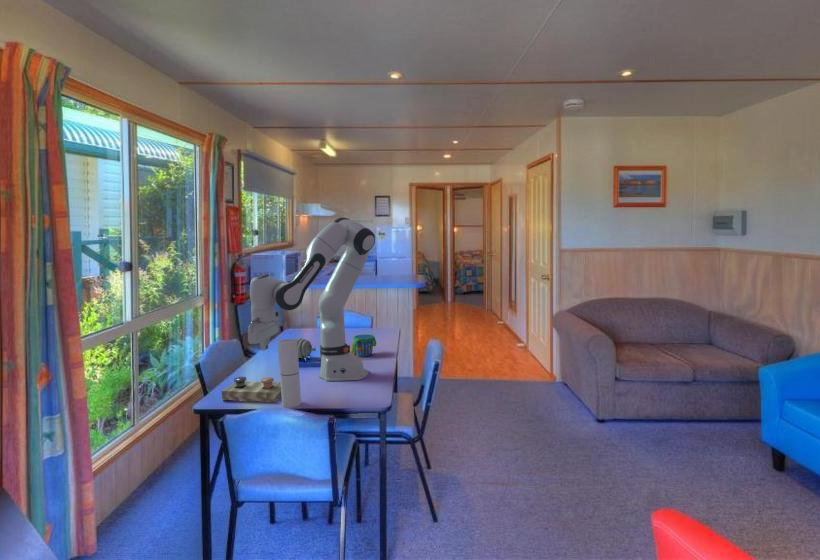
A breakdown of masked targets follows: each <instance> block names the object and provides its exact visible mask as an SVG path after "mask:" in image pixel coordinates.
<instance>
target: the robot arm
mask: <svg viewBox="0 0 820 560" xmlns="http://www.w3.org/2000/svg"><path fill="white" fill-rule="evenodd" d="M375 244H376V235H375V233H374V232H373V231H372V230H371V229H370V228H367V226H364V225H363V224H361V223H359V222H357V221H353V220H351V219H350V218H347V217H341V216H340V217H338V218H336V219H335V220H334V221H332V222H330V223H328V224H327V225H326V226H325V227H323V228H322V229H321V230H320V231H319V232H318V233H317V234H316V235H315V236H314V237H313V239H312V240H311V241H310V243H308V246H307V247H306V249H305V254H306V255H305V257H306V261H305V263H304V266H303V267H302V268H301V269H300V271H299V272H298V273H297V274H296V275H295V276H294V278H293V279H292V280H291V281H290V282H288V281H284V280H280V279H277V278H275V277H273V276H271V275H270V274H259V275H257V276H254V277H253V278H251V280H250V284H249V297H250V298H249V300H250V302H251V305H250V315H251V316H250V317H251V321H250V324H249V325H248V327H247V328H248V329H247V342H248V344H250V345H258V344H259V345H260V350H261V351H266V350H268V349H269V344H270V338H271V337H272V336H275V335H276V334H278V333H279V331H280V321H279V320H280V319H279V317H280V311H279V310H276V309H275V306H276V305H277V306H279V307H280V308H281V309H282V310H285V311H292V310H293V311H294V310H295V309H297V308H298V307H299V306H301V304H302V302H303V299H304V296H305V293H306V292H307V290H308V288H309V287H310V286H311V284H312V283H313V282H314V281H315V279H316V278H317V276H318V275H319V273H320V272H321V271H322V270H323V269H324V267H325V266H326V265H327V264H328V263H329V262H330V261H331V260H332V259H333V258H334V257H335V256H336V255H337V253H338V252H339V250H340V249H341V247H343V246H345V250H344V251H343V253H342V255H341V257H340V259H339V260H338V262H337V264H336V265H335V268H334V270H333V272H332V274H331V275H330V278H329V280H328V281H327V283H326V286H325V288H324V290H323V291H322V292H321V293H320V295H319V298H318V303H317V304H318V306H317V307H318V311H319V332H320V333H319V334H320V335H319V336H320V345H319V348H320V349H319V354H320V370H319V374H318V377H319V378H320V379H323V380H325V381H326V382H340V381H341V382H342V381H343V382H344V381H361V380H362V379H365V378H367V377H368V375H369V373H370V372H369V369H368V368H364V363H363V360H362V359H361V357H359V356H358V355H355V354H354V352H351V344H347V343H346V330H345V329H346V328H345V313H344V311H345V309H344V307H346V304H347V301H348V300H349V297H350V295H351V293H352V291H353V289H354V287H355V284H356V283H357V281H358V280H359V277H360V275H361V273H362V271H363V269H364V267H365V265H366V263H367V260H368V257H369V254H370V251H371V250H372V249H373V247H374V245H375Z"/></svg>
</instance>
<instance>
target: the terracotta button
mask: <svg viewBox="0 0 820 560" xmlns="http://www.w3.org/2000/svg"><path fill="white" fill-rule="evenodd" d="M260 382H262V383H263V386H264V389H271V388H272V382H275V380H274V377H264V378H262V379H261V381H260Z"/></svg>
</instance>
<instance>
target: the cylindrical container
mask: <svg viewBox="0 0 820 560" xmlns="http://www.w3.org/2000/svg"><path fill="white" fill-rule="evenodd" d="M296 339H297V338H286V339H281V340H278V341H277V347H278V349H277V350H278V351H277V352H278V364H279V365H278V366H279V377H280V383H281V395H282V396H281V405H282V407H283V408H295V407H299V406H300V405H301V404H302V397H301V383H300V367H299V359H298V347H297V340H296Z"/></svg>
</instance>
